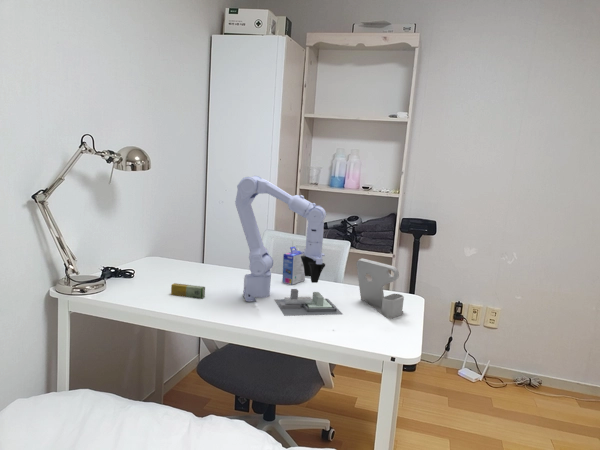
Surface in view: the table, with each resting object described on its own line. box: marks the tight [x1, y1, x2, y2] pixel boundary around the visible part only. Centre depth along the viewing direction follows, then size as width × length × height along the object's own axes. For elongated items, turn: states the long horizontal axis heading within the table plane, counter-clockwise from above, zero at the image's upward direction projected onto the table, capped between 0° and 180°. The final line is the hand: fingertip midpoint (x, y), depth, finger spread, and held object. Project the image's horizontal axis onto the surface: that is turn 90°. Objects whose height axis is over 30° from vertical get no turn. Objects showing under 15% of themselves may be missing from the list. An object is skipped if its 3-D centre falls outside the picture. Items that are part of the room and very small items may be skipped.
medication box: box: [170, 282, 206, 300], centre depth 164 cm, size 12×3×4 cm, turn 80°
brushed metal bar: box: [284, 288, 312, 304], centre depth 156 cm, size 9×2×4 cm, turn 105°
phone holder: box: [355, 257, 405, 320], centre depth 164 cm, size 17×10×18 cm, turn 48°
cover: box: [305, 291, 332, 309], centre depth 158 cm, size 8×8×4 cm
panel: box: [273, 298, 343, 317], centre depth 158 cm, size 20×16×3 cm
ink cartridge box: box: [282, 246, 306, 286], centre depth 191 cm, size 10×6×14 cm, turn 148°
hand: (311, 279), depth 162 cm, fingers open, 7 cm apart
